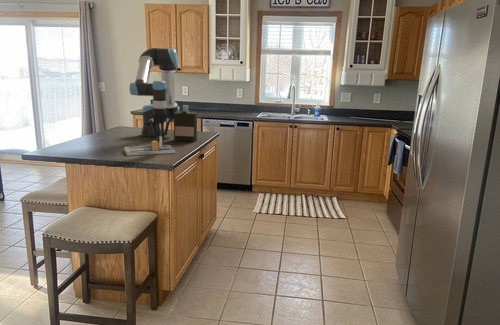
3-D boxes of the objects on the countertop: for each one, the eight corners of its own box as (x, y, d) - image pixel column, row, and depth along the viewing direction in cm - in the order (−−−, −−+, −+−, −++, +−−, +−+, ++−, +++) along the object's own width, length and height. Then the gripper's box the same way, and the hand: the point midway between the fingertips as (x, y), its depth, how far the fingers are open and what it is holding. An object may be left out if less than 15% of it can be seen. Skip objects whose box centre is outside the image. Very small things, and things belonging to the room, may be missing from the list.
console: (124, 150, 221) (124, 146, 220) (169, 147, 232) (169, 144, 231) (126, 155, 207) (126, 152, 207) (175, 153, 219) (174, 149, 218)
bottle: (175, 138, 261) (175, 104, 255) (197, 140, 261) (197, 105, 255) (173, 141, 254) (172, 105, 247) (195, 142, 253) (195, 106, 247)
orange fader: (152, 149, 217) (151, 140, 216) (157, 148, 218) (156, 140, 217) (153, 150, 213) (153, 142, 212) (158, 150, 215) (158, 141, 213)
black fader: (156, 145, 227) (156, 137, 225) (161, 145, 228) (160, 137, 226) (157, 147, 223) (157, 138, 222) (162, 146, 224) (162, 138, 223)
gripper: (149, 108, 205) (150, 148, 211) (172, 108, 210) (172, 147, 216) (147, 107, 211) (148, 146, 217) (169, 107, 217) (169, 145, 223)
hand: (160, 146), depth 217 cm, fingers closed
